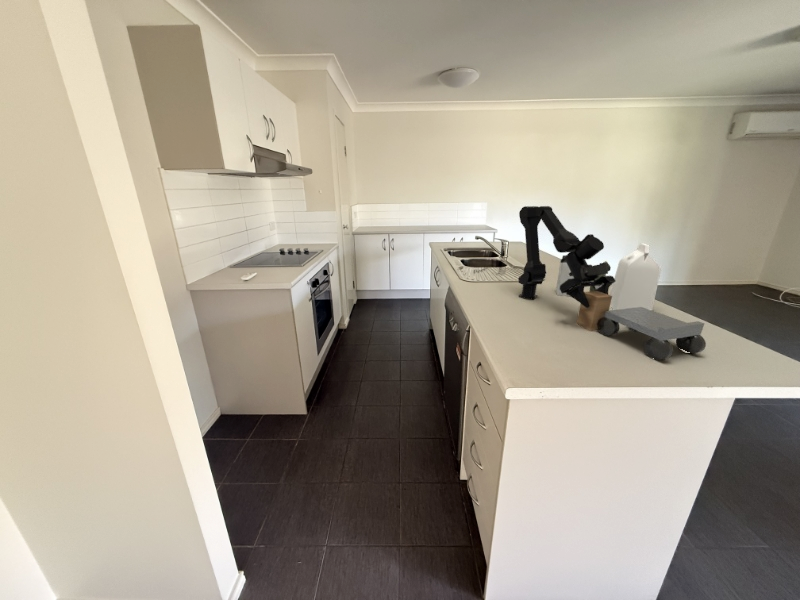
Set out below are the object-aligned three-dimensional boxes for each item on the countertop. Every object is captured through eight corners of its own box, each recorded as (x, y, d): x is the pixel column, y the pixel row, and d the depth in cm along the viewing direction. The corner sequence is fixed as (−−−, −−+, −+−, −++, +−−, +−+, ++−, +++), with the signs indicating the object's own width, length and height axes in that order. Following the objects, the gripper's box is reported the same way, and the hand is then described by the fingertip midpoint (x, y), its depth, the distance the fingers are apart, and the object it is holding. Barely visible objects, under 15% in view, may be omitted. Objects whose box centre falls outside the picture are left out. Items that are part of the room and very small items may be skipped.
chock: (576, 324, 111) (582, 292, 107) (589, 322, 113) (596, 290, 109) (590, 331, 106) (597, 297, 102) (604, 329, 107) (612, 295, 104)
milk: (650, 316, 119) (670, 247, 110) (615, 312, 122) (632, 246, 114) (639, 306, 129) (656, 242, 121) (607, 303, 133) (621, 241, 124)
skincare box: (574, 293, 145) (581, 260, 140) (577, 297, 139) (583, 263, 134) (554, 291, 148) (560, 258, 143) (556, 295, 142) (562, 261, 137)
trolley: (595, 331, 106) (601, 304, 103) (629, 326, 110) (636, 300, 107) (662, 363, 86) (673, 332, 83) (701, 356, 90) (712, 326, 87)
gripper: (572, 255, 102) (593, 297, 96) (617, 252, 107) (640, 293, 101) (551, 272, 112) (569, 312, 106) (593, 269, 117) (612, 307, 111)
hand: (598, 306), depth 106 cm, fingers open, 8 cm apart
